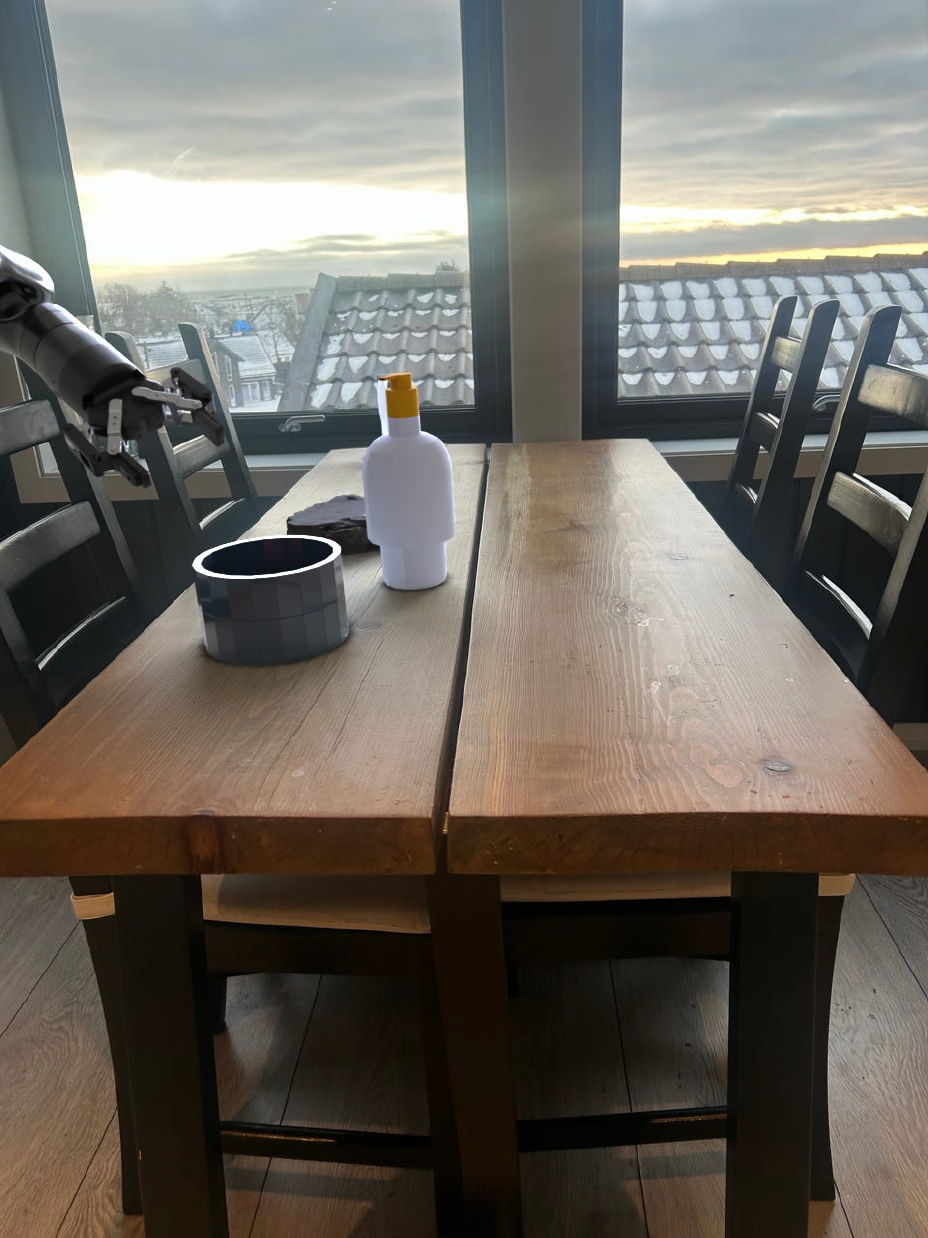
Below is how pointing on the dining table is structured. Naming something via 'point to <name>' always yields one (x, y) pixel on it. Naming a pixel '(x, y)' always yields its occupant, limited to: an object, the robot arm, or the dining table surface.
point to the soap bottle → (408, 493)
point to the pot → (271, 599)
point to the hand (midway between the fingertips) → (184, 459)
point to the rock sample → (335, 523)
